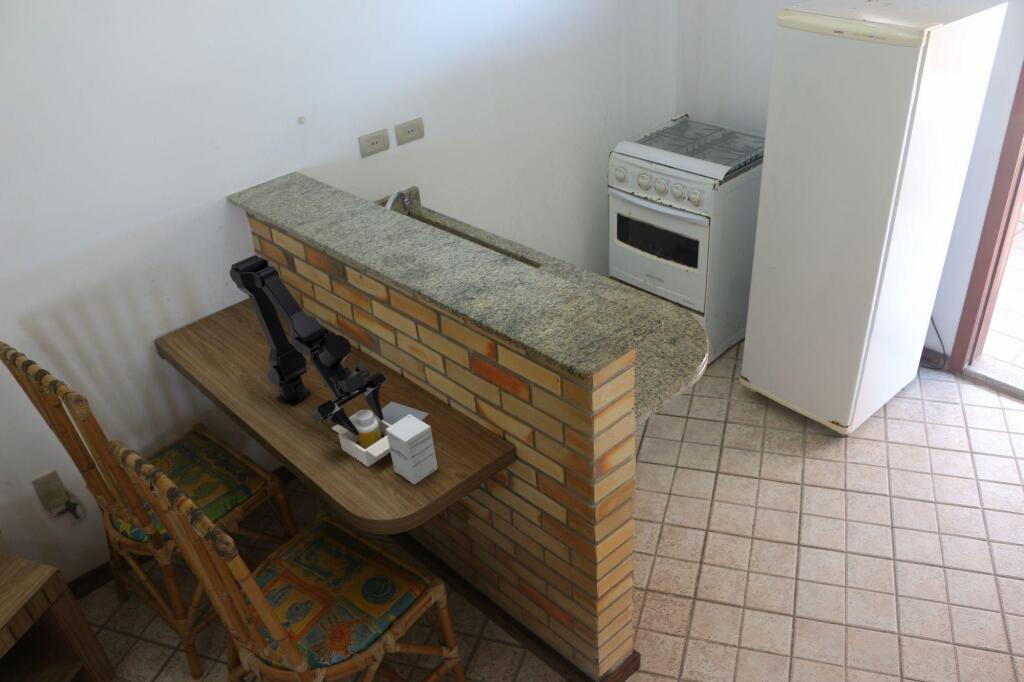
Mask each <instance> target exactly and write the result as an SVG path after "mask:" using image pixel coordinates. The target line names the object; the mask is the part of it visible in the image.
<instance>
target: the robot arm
mask: <svg viewBox="0 0 1024 682" xmlns="http://www.w3.org/2000/svg"><path fill="white" fill-rule="evenodd" d="M270 262H271V261H270V260H269V259H267V258H263V257H259V256H258V255H257V254H256V255H255V254H254V255H251V256H248V257H246V258H244V259H241V260H239V261H237V262H235V263H233V264H232V263H231V267H230V270H229V275H230V278H231V280H232V281H233V283H235V285H236V287H237V289H239V290H240V291H241V292H243V293H244V294H246V295H247V296H248V298H249V300H250V303H251V305H252V307H253V310H254V312H255V315H256V316H257V319H258V320H259V324H260V326H261V328H262V331H263V333H264V335H265V337H266V340H267V342H268V344H269V345H268V346H269V347H270V350H269V356H268V362H269V366H270V369H269V370H268V372H267V374H266V376H267V378H268V381H269V382H270V383H272V384H273V385H274V386H277V388H278V390H279V394H280V395H279V396H277V397H276V400H277V401H279V402H282V403H284V404H287V405H290V406H296V405H297V404H299V403H300V402H301V401H303V399H305V398H307V396H309V395H310V394H311V391H310V390H308V389H306V387H305V384H304V381H303V378H302V376H303V375H305V374H307V371H308V370H307V368H308V366H307V364H308V363H307V359H306V357H305V356H304V355H307V356H310V360H309V364H310V366H311V367H313V366H314V368H315V369H316V371H317V373H318V374H319V376H320V377H321V378H322V380H323V382H324V387H325V388H326V389H329V390H330V392H331V393H332V395H333V396H334V398H333V400H334V401H332V400H331V399H328V400H327V401H326V402H323V403H322V404H320V405H319V406H317V407H316V408H315V410H314V411H313V412H312V418H313V420H314V422H315V423H316V424H317V425H319V424H320V423H322V422H324V421H326V422H327V423H329V422H333V423H335V424H336V425H337V424H338V425H340V426H342V427H344V428H345V429H347V430H348V431H350V432H351V433H353V434H355V435H356V436H358V435H359V432H358V431H357V429H356V427H355V426H354V425H353V423H352V422H351V421H350V419H349V417H348V415H347V413H346V412H345V409H344V407H342V406H344V405H346V404H348V403H349V402H351V401H354V400H355V399H357V398H358V397H360V396H361V395H364V394H365V397H364V398H363V399H364V400H365V402H366V403H367V404H368V406H369V408H370V410H371V411H372V412H373V414H374V415H376V416H377V417H378V418H379V419H380V420H381V421H382V420H383V419H384V418H383V414H382V406H381V403H380V398H379V394H380V393H379V391H381V389H382V386H383V385H384V384H385V383H387V381H388V378H387V377H386V375H385V374H384V373H383V372H381V371H378V372H376V373H374V374H372V375H371V372H370V371H369V369H368V367H367V366H366V365H365V363H360V364H358V365H357V366H356V367H355V368H354V371H351V369H350V368H349V367H348V366H347V367H345V365H344V364H343V362H344V361H345V359H346V358H347V357H348V355H349V354H350V353H351V350H352V349H351V347H352V346H351V342H350V341H349V340H348V338H346V337H345V336H343V335H339V334H336V333H335V332H333V331H331V330H330V329H328V328H327V327H325V326H324V325H322V324H321V323H320V322H319V321H318V319H317V318H316V317H314V316H311V315H309V314H307V313H306V312H305V310H303V308H302V307H301V306H300V304H299V303H298V302H297V300H296V299H295V297H294V296H293V295H292V293H291V292H290V290H289V289H288V288H287V286H286V285H285V283H284V282H283V280H282V279H281V278H280V275H279V272H278V270H277V269H276V268H275V266H272V265H271V263H270ZM278 313H279V314H280V316H281V317H282V319H283V320H284V321H285V323H286V324H287V326H288V327H289V338H290V339H291V341H292V343H291V342H290V340H289V338H288V335H287V334H286V331H285V328H284V326H283V323H282V321H281V319H280V316H279V314H278ZM303 354H304V355H303Z"/></svg>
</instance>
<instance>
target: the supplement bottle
mask: <svg viewBox="0 0 1024 682" xmlns="http://www.w3.org/2000/svg"><path fill="white" fill-rule="evenodd" d="M361 410H362V411H360V410H359V411H360V412H359V411H357V412H358V413H357V412H356V413H357V415H356V419H357V422H356V425H355V427H356V429H357V431H358V432H359V435H358V440H359V441H358V445H359V446H360V447H362V448H363V449H366V448H368V447H370V446H371V445H373V444H374V443H376V442H377V441H379V440H381V439H382V438H383V437H382V434H381V432H380V428H379V423H378V420H377V419H376V418H374V415H375V414H374V411H373V410H372V409H361ZM373 414H374V415H373Z"/></svg>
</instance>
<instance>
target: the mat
mask: <svg viewBox="0 0 1024 682" xmlns="http://www.w3.org/2000/svg"><path fill="white" fill-rule="evenodd" d="M381 410H382V414H383V418H384V419H383V420H384V421H385V422H387V423H389V424H390V425H393V424H395V423H396V422H398V421H399V420H401V419H402V418H404V417H406V416H407V415H409V414H411V415H412V416H414V417H416V418H417V419H419V420H421V421H423V422H425V420H426V419H427V418H428V417H429V415H430V413H428V412H424V411H422V410H419V409H416V408H413V407H409V406H407V405H403V404H402V403H398V402H395V401H390V402H389V403H388V404H386V405H385V406H384V407H383V408H381ZM374 415H375V416H376V414H374Z"/></svg>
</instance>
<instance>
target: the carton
mask: <svg viewBox="0 0 1024 682" xmlns="http://www.w3.org/2000/svg"><path fill="white" fill-rule="evenodd" d="M362 410H363V409H361V410H359V411H357V412H356V413H354V414H352V415H351V416H349V417H348V418H349V419H350V421H351V422H352V423H353V425H354V426H355V425H356V422H357V419H356V415H357V413H358V412H360V411H362ZM373 415H374V418H376V419H377V420H378V423H379V428H380V432H381V436H384V437H382V439H381V440H379V441H377V442H376V443H374V444H373V445H371V446H370V447H368V448H366V449H363V448H362V447H360V444H357V443H359V440H358V436H356V435H355V434H353V433H351V432H350V431H348V430H347V429H345V428H344V427H342V426H340V425H338V424H336V425H334V426H332V427H331V429H332V430H333V431H335V432H336V433H338V439H339V443H340V446H341V450H342V451H343V452H345V453H347V454H348V455H349V456H351V457H353V458H354V459H355V458H356V459H355V460H357V461H358V460H359V462H360V463H361V462H362V465H364V466H366V467H368V468H369V467H370V466H372V465H373V464H375V463H376V462H378V461H380V460H381V459H382V458H384V457H385V456H387V455H388V454H391V452H390V447H389V442H388V437H387V433H386V429H387V428H388V427H390V426H391V425H390V424H389V423H387V422H385V421H384V420H382V421H381V420H380V419H379V418H378V417H377V416H375V415H376V414H375V413H373Z"/></svg>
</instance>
